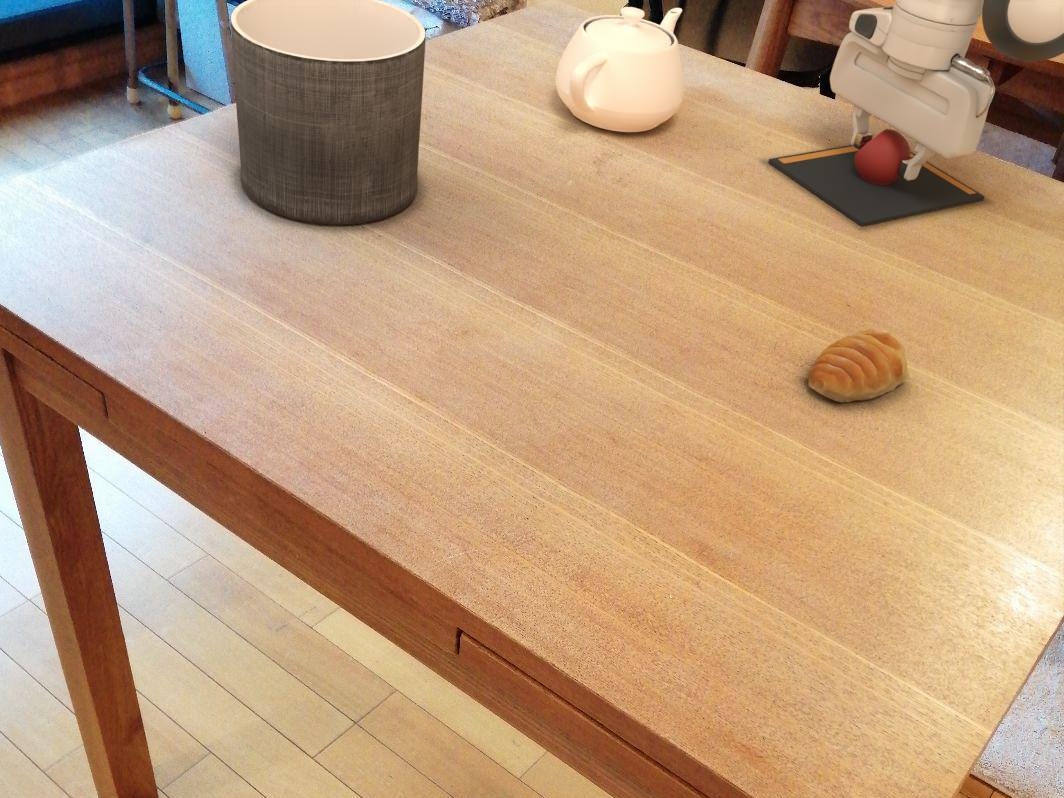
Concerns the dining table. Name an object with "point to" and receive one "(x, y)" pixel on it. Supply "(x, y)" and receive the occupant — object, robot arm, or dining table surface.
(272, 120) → the planter
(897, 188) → the corner mat
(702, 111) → the dining table surface
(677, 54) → the teapot
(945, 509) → the dining table surface
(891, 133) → the fruit
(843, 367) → the pastry
